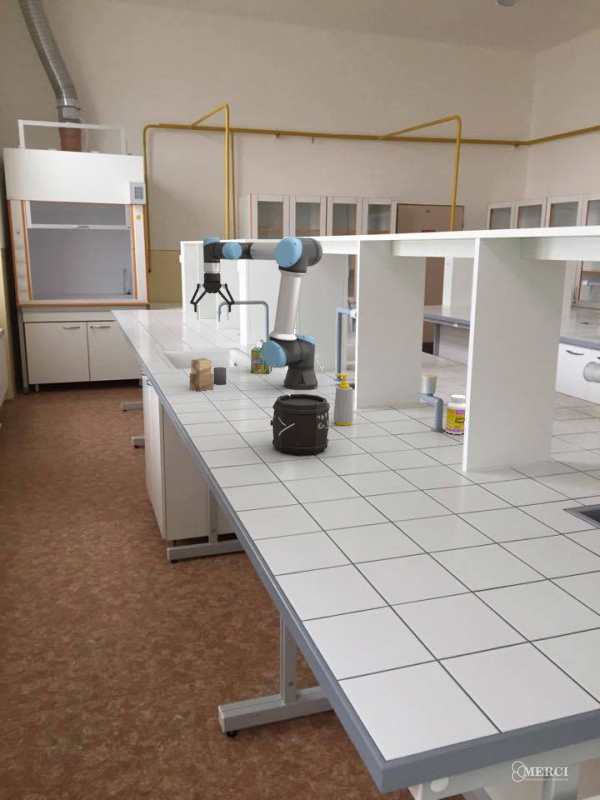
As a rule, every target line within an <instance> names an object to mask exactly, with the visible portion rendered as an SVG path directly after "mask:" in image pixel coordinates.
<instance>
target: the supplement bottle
mask: <svg viewBox="0 0 600 800" xmlns="http://www.w3.org/2000/svg"><path fill="white" fill-rule="evenodd" d="M465 401H466V396H465V395H464V394H463V395H462V394H452V395H450V402H449V403H448V404H447V408H446V418H445V420H446V421H445V432H446V433H447V432H448V433H447V434H450V433H452V434H451V435H455V434H460V435H463V434H462V433H463V432H464V421H465V408H466V405H467V404H466V403H465Z"/></svg>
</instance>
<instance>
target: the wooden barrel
mask: <svg viewBox="0 0 600 800" xmlns="http://www.w3.org/2000/svg"><path fill="white" fill-rule="evenodd" d="M330 407H331V405H330V403H329V402H328V399H327V398H326V397H323V396H320V395H318V394H308V393H290V395H289V394H284V395H280V396H278V397H277V398H276V400H275V401H274V403H273V404H272V409H273V416H272V419H270V422H269V425H270V426H271V427H272V438H273V439H272V440H271V443H272V445H273V446H274V449H275V450H276V451H277V452H279V453H280V454H283V455H288V456H294V457H312V456H313V457H314V456H316V455H320V454H322V453H325V449H326V448H328V444H329V440H330V439H329V438H328V434H329V423H330V422H329V421H330V415H329V411H330Z"/></svg>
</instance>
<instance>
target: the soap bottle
mask: <svg viewBox="0 0 600 800" xmlns="http://www.w3.org/2000/svg"><path fill="white" fill-rule="evenodd" d="M349 375H350V373H334V376H337V377H342V379H343V381H341V382H340V384H339V386H336V387H335V397H334V399H335V400H334V405H333V406H334V408H333V421H334V424H336V425H337V426H349V425H350V426H351V424H352V422H353V420H354V419H353V418H354V417H353V416H354V415H353V413H354V411H353V407H354V404H353V399H354V398H353V395H354V394H353V392H354V391H353V386H350V384H349V382H348V381H347V379H348V376H349Z"/></svg>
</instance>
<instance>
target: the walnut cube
mask: <svg viewBox="0 0 600 800" xmlns="http://www.w3.org/2000/svg"><path fill="white" fill-rule="evenodd" d="M190 389H192V390H191V391H194V390H196V391H195V392H197V391H199V392H198V393H202V392H201V391H204V392H208V391H207V390H210V391H214V373H211V374H207V375H196V374H192V373H191V372H190V373H189V390H190Z"/></svg>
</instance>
